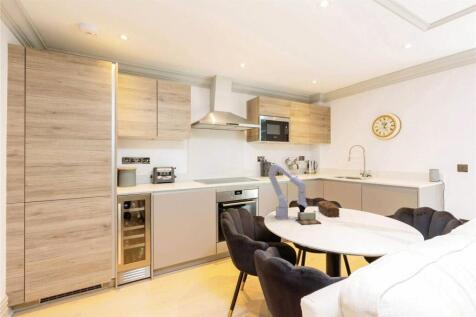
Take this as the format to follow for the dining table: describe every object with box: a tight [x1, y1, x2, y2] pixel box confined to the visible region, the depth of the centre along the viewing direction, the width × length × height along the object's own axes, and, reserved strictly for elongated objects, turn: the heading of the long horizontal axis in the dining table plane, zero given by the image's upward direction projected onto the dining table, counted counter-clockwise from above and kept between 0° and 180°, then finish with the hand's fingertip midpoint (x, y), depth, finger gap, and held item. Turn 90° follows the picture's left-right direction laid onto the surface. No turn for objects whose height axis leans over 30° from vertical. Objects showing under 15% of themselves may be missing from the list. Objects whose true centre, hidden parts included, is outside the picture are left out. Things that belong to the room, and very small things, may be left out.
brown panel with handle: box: [294, 210, 322, 226], centre depth 171 cm, size 16×12×7 cm
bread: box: [317, 200, 340, 218], centre depth 192 cm, size 19×11×10 cm, turn 3°
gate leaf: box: [300, 211, 315, 220], centre depth 173 cm, size 11×2×5 cm, turn 99°
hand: (301, 214), depth 179 cm, fingers closed
